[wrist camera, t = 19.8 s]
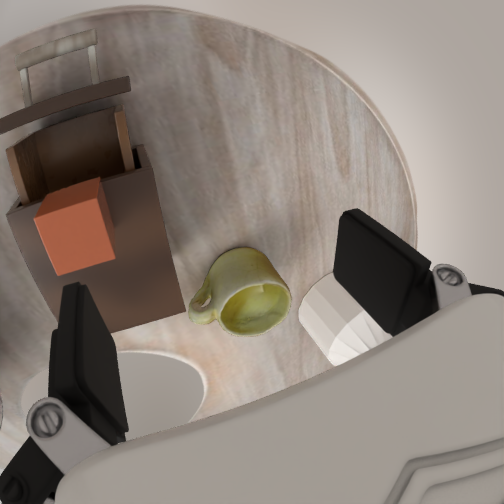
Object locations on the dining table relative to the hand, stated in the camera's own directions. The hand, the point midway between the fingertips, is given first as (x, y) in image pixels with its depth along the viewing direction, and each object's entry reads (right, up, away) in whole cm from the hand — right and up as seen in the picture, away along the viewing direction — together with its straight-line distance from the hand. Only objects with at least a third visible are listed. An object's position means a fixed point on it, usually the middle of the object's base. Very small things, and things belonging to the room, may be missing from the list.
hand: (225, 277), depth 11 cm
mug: (-3, -2, +31) cm, 32 cm away
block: (-12, +4, +10) cm, 16 cm away
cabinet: (-16, +4, +21) cm, 26 cm away
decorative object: (+15, -7, +44) cm, 47 cm away
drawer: (-16, +12, +14) cm, 25 cm away
